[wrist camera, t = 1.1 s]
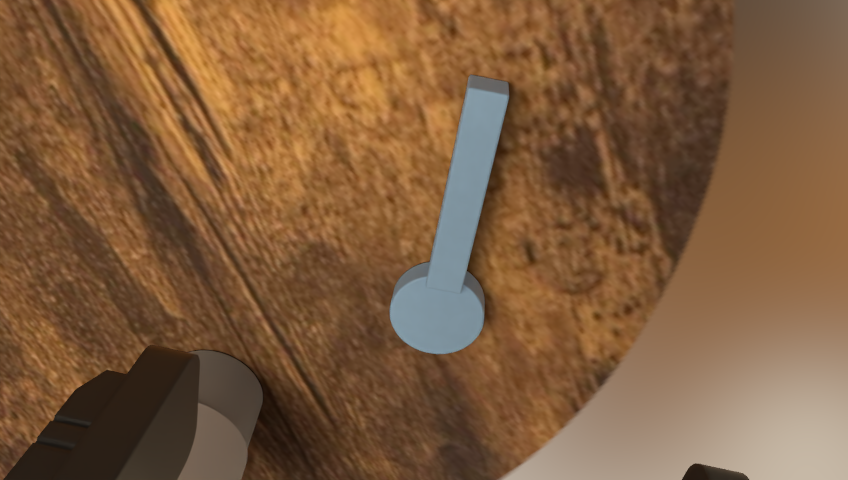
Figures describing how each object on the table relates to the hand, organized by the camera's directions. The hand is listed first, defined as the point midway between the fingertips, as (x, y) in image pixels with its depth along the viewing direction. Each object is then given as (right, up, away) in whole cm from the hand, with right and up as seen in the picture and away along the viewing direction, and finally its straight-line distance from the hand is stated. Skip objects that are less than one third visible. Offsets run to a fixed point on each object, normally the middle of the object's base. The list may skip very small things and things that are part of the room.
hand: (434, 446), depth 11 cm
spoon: (+1, +5, +15) cm, 16 cm away
